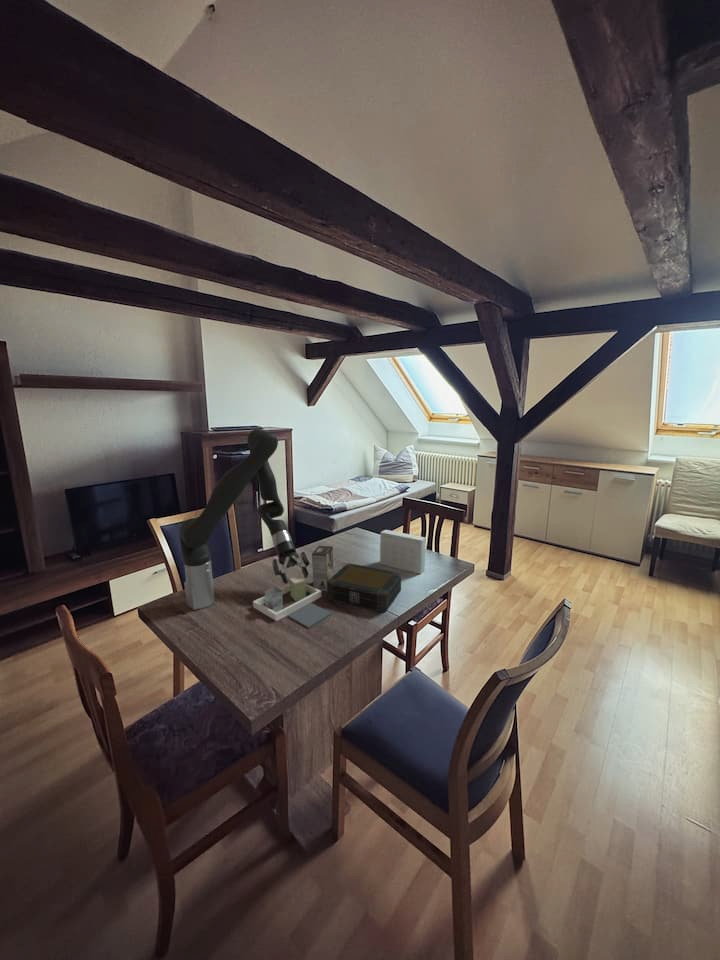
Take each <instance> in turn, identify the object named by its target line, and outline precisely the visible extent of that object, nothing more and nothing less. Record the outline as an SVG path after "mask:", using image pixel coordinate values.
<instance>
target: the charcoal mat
mask: <svg viewBox="0 0 720 960" xmlns="http://www.w3.org/2000/svg"><path fill="white" fill-rule="evenodd" d="M330 616H332V612H330V611H328V610H326V609H324V608H322V607H320V606H318V605H316V604H315V603H312V602H311V603H309V604H307V605H305V606H303V607H302V608H300V609H298V610H296V611H294V612H292V613H291V614H289V615H287V617H288V618H289V619H292V620H293V621H294V622H296V623H298V624H300V625H302V626H304V627H305V628H306V629H311V628H312V627H314V626H315V625H317V624H318V623H320V622H321V621H324V620H325V619H326V618H328V617H330Z"/></svg>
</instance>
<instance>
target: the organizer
mask: <svg viewBox="0 0 720 960" xmlns="http://www.w3.org/2000/svg"><path fill="white" fill-rule="evenodd" d="M305 586H306V593H309V595H306V597H305V598H303V599H300V600H297V601H295V602H294V603H292V604H291V605H288V606H287V607H285V608H284V607H283V609H282V610H280V611H278V612H275V611H273V610H271V609H269V608H268V607H266V602H265V595H264V596H262V597H259V598H257V599H255V600H253V601H252V605H253V606H252V607H253V608H254V609H256V610H257V611H259V612H261V613H262V614H263V615H265V616H268V618H269V619H270V618H271V619H272V620H274V621H275V622H277V621H279V620H281V619H283V618H285V617H288V615H289V614H291V613H293V612H295V611H297V610H299V609H301V608H302V607H304V606H306V605H308V604H310V603H312V602H314V601H316V600H318V599H320V598H322V590H318V589H316V588H314V587H313V586H311V585H310V584H307V583H305ZM279 589H280V590H282V596H283V595H285V594H287V593H290V583H289V584H287V585H285V586H282V587H281V588H279ZM264 604H265V605H264Z"/></svg>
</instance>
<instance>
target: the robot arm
mask: <svg viewBox="0 0 720 960" xmlns="http://www.w3.org/2000/svg"><path fill="white" fill-rule="evenodd" d="M246 440H247V441H246V442H247V446H248V449H249V452H250V453H249V455H248V456H247V457H246V458H244V460H243V461H241V462H240V463H238V464H236V465H235V466H233V467H231V468H230V469H228V470H227V471H226V472H225V473H224V474H223V475H222V476H221V478H220V479H219V480H218V482H217V483H216V485H215V486H214V488H213V490H212V492H211V494H210V497H209V499H208V502H207V504H206V506H205V508H204V509H203V511H202V512H201V513H200V514H199V516H198V517H197V518H194V517H193V518H189V519H186V520H185V521H183V523H182V524H181V525H180V528H179V541H180V547H181V548H180V549H181V555H182V558H183V563H184V573H185V581H184V582H183V584H184V593H185V601H186V602H185V603H186V606H188V607H189V608H191V610H193V611H195V610H200V609H204V608H208V607H210V606H211V605H213V604H214V603H215V601H216V600H215V591H214V578H213V571H212V560H211V559H212V558H211V552H210V549H209V546H208V541H210V539H211V537H212V535H213V534H214V533H215V530H216V529H217V527H218V525H219V524H220V522H221V520H222V519H223V518H224V516H225V515H226V514H227V513H228V511H229V510H230V508H231V507H233V505H234V503H235V502H236V501H237V499H238V498H239V497H240V495H241V494H242V493H243V491H244V490H245V488H246V487H247V485H248V484H249V483H250V481H252V479H253V478H254V476H256V477H257V481H258V488H259V489H258V490H259V494H260V498H261V499H262V501H264V502H265V501H266V503H262V504H260V505H259V506H258V508H257V509H258V512H257V513H258V516H259V517H260V519H261V520H262V521H263V522H264V524H265V525H266V526H267V528H268V530H269V533H270V536H271V538H272V539H271V540H272V544H273V547H274V549H275V552H276V554H277V557H278V559H276V558H273V560H272V561H271V565H272V569H273V572H274V575H275V576H280V578H281V581H282V583H284V585H286V584H287V585H288V583H289V581H288V577H287V574H286V572H285V571H286V568H287V569H288V568H291V567H297V568H299V569H301V572H302V575H303V578H304V579H307V578H308V576H309V571H308V569H307V567H308V566H309V565H310V561H309V559H308V557H307V555H306V553H305V551H302V552H300V553H297V549H296V546H295V544H294V542H293V540H292V539H293V538H292V537H291V534H290V532H289V530H288V527H287V525H286V523H285V521H284V520H283V519H275V518H278V517H279V518H280V517H281V516H282V515H283V514H284V512H285V508H284V506H283V504H282V502H281V499H280V497H279V494H278V488H277V481H276V477H275V474H274V472H273V470H272V468H271V464H270V462H269V459H270V458H271V457H272V456H273V455H274V454H275V452H276V451H277V448H278V445H279V440H278V437H277V435H275V434H273V433H272V432H269V431H266V430H263V429H260V428H255V429H253V430H251V431H250V432H249V434H248V435H247V439H246ZM267 501H268V502H267ZM299 558H300V559H301V560H300V559H299ZM279 564H280V565H282V566H281V569H279Z"/></svg>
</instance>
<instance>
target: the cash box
mask: <svg viewBox="0 0 720 960" xmlns="http://www.w3.org/2000/svg"><path fill="white" fill-rule="evenodd" d="M401 590H402V573H400V572H397V571H392V570H387V569H381V568H377V567H372V566H366V565H360V564H355V563H346V564H345V565H344V566H342V567H341V568H340V569H339V570H338V571H337V572H336V573H335V574H333V577H331V578H330V579H329V580H328V582H327V591H326V592H327V594H326V595H327V597H326V598H327V599H328V601H329V600H330V601H334V602H339V603H341V604H342V603H343V604H345V605H350V606H354V607H359V608H362V609H367V610H372V611H375V612H380V613H385V612H387V611H388V610H389V608H390V607H391V606H392V604H393V603H394V601H396V598H397V596H398V595H399V594H400V592H401Z"/></svg>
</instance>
